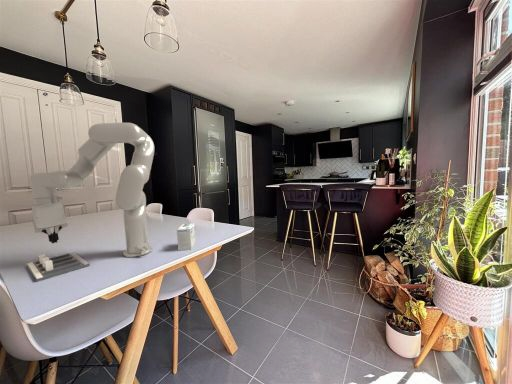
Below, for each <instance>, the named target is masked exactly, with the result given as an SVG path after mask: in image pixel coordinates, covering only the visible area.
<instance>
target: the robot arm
mask: <svg viewBox="0 0 512 384" xmlns="http://www.w3.org/2000/svg"><path fill="white" fill-rule="evenodd" d="M87 132H88V133H87V135H88V137H89V138H88V139H87V140H86V141H85V142H84V143H83V144H82V145H81V146H80V147H79V148H78V149H77V154H78V159H77V161H76V162H75V164H74V165H72V167H71V168H69V170H56V171H51V172H37V173H36V172H35V173H31V174H30V175H29V181H30V182H29V183H30V187H31V193H32V197H33V203H34V206H33V205H32V207H31V208H32V209H31V214H32V224H33V227H34V229H33V230H34V231H33V232H35V234H36V233H43V234H46V235H47V236H48V241H49V243H51V244H55V243H58V242H59V240H60V237H59V233H60V231H61V230H62V229H64V228H66V227H68V226H69V224H68V223H67V222H68V221H67V217H66V213H65V210H64V207H63V205H62V203H61V202H60V201H63V196H58V190H59V189H68V188H69V189H70V188H75V187H79V186H80V185H81V184H83V182H84V181H85V180H86V179H87V178H89V176H90V175H91V174H92V173H93V171H94V170H95V168H96V167H97V164H98V163H99V162H100V161H101V159H103V157H104V156H105V155H106V154H108V153H109V152H110V150H112V149H113V147H115V145H116V144H130V145H132V146H133V147H134V152H133V153H132V154H133V155H132V159H131V162H130V165H129V164H128V165H127V166H125V167H124V168H123V169H122V172H121V173H120V176H119V181H118V185H117V189H116V193H115V204H116V206H117V207H118V208H120V209H121V210H123V225H124V237H125V245H126V250H124V251H123V253H122V254H123V255H122V256H123V257H127V258H135V257H140V256H144V255H147V254H149V253H152V251H153V249H154V248H153V246H151V245H150V244H149V243H150V242H149V241H150V240H149V231H148V230H149V229H148V220H147V219H148V218H147V217H148V216H147V196H146V194H145V192H144V191H143V189H144V186H145V184H146V183H148V181H149V179H150V175H151V170H152V164H153V160H154V156H155V144H154V141H153V139H152V138H151V136H150V135H148V133H146V131H144V130H143V128H141V127H140V126H138V125H137V124H135V123H132V122H107V123H106V122H102V123H101V122H100V123H95V124H93V125H92V126H90V127H89V129H88V131H87ZM57 189H58V190H57ZM50 228H53V231H51V229H50Z"/></svg>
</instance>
